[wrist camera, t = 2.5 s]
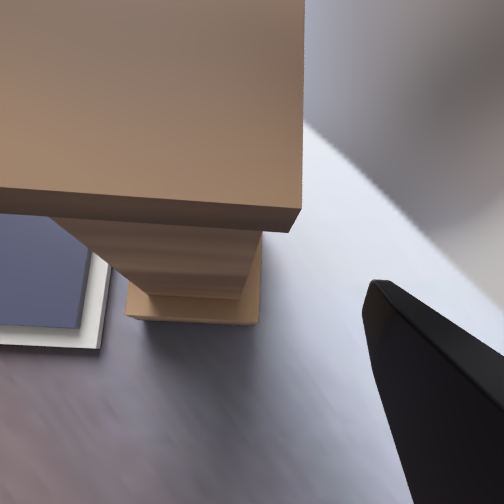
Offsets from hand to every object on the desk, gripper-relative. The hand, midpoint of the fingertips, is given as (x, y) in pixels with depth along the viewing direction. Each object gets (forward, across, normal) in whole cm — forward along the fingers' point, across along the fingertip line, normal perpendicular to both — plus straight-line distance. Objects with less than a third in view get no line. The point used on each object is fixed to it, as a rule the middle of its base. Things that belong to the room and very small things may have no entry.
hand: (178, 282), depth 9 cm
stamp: (+8, 0, +5) cm, 10 cm away
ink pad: (+8, +9, +5) cm, 13 cm away
